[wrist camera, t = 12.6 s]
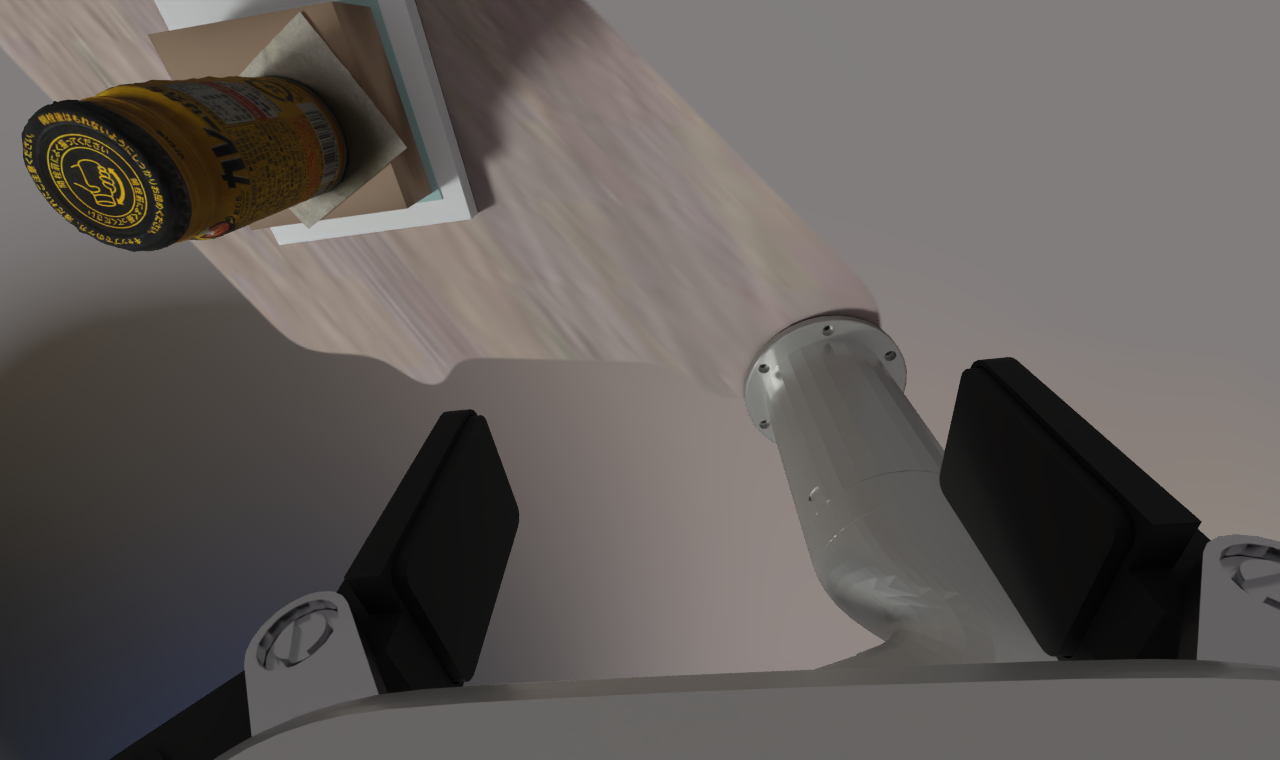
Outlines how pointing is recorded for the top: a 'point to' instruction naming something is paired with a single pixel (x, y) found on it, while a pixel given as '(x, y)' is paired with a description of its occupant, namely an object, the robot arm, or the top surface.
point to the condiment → (211, 148)
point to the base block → (353, 45)
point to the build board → (421, 96)
